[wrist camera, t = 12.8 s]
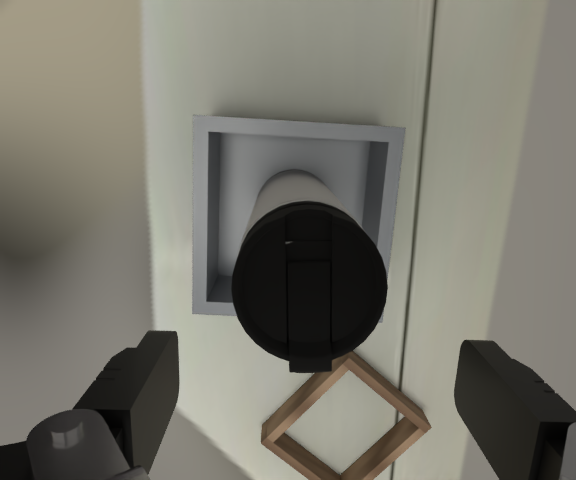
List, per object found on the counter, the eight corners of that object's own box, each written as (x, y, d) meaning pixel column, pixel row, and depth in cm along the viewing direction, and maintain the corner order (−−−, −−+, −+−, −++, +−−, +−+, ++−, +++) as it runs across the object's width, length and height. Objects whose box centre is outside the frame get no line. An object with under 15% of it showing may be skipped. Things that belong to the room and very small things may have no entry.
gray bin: (210, 118, 35) (193, 114, 28) (381, 128, 35) (405, 127, 28) (208, 281, 38) (192, 313, 31) (364, 289, 38) (382, 322, 32)
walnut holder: (344, 344, 40) (348, 357, 37) (422, 410, 42) (431, 427, 39) (261, 425, 42) (260, 443, 39) (340, 485, 44) (343, 505, 41)
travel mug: (257, 247, 36) (231, 378, 17) (255, 169, 35) (223, 214, 15) (330, 246, 36) (389, 375, 17) (331, 168, 35) (397, 211, 15)
